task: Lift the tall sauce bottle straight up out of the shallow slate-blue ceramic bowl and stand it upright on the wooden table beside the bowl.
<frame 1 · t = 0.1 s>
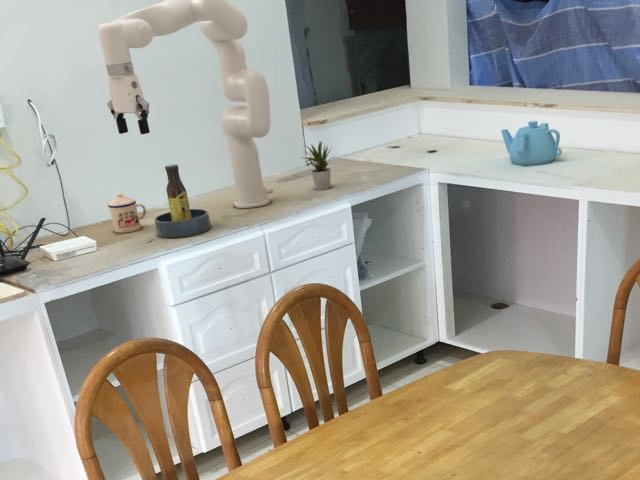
hand: (134, 133, 282), 31 cm above the table, tool pointing down, fingers open, 9 cm apart
sauce bottle: (184, 230, 303), resting on bowl
teapot: (531, 161, 351), on the table
bowl: (184, 231, 303), on the table
teacup with lid: (132, 229, 312), on the table
house plant: (321, 188, 343), on the table
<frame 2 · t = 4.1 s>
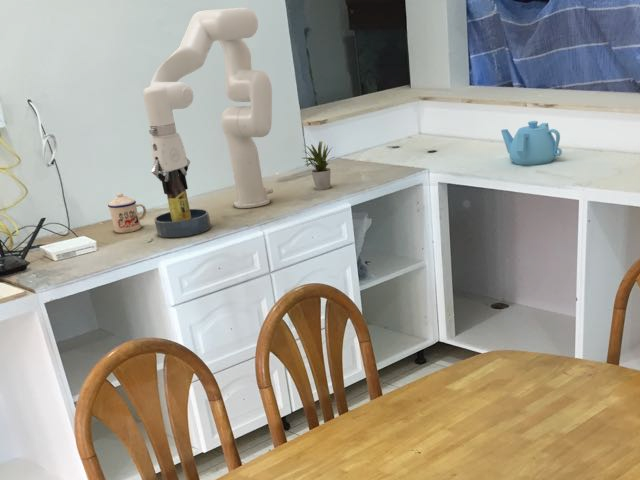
hand: (176, 191, 296), 13 cm above the table, tool pointing down, fingers closed on sauce bottle, 6 cm apart
sauce bottle: (184, 230, 303), resting on bowl, touching gripper
everything else where it was.
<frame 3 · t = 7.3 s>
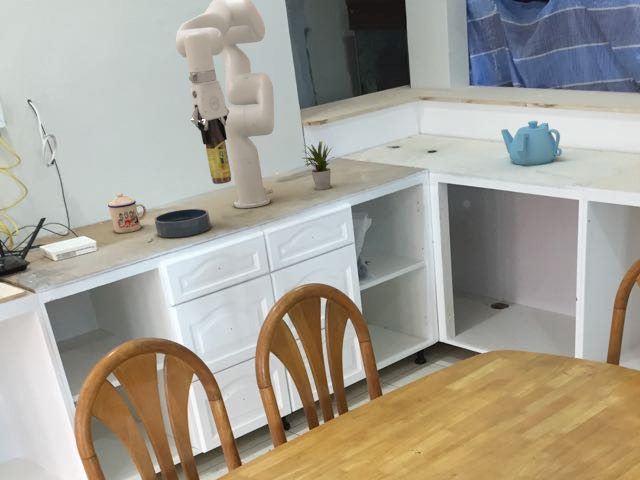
hand: (215, 141, 288), 26 cm above the table, tool pointing down, fingers closed on sauce bottle, 6 cm apart
sauce bottle: (222, 182, 295), point 14 cm above the table, touching gripper
everything else where it was.
when the fingers open (12 cm above the table, at t = 10.9 s): sauce bottle stays where it is, on the table.
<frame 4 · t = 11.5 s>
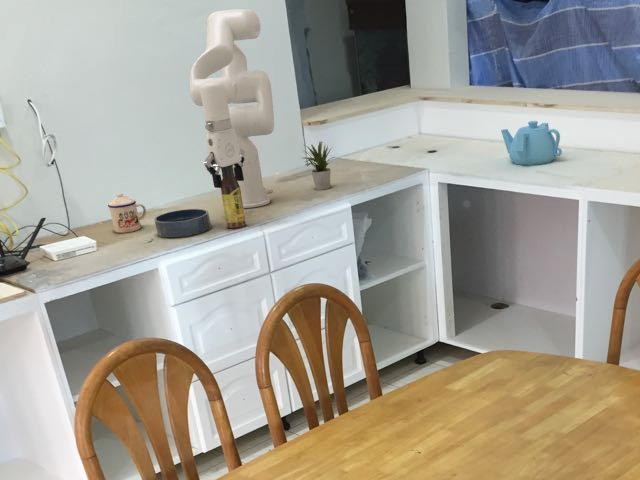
hand: (229, 184, 295), 13 cm above the table, tool pointing down, fingers open, 9 cm apart
sauce bottle: (237, 227, 302), on the table
everything else where it was.
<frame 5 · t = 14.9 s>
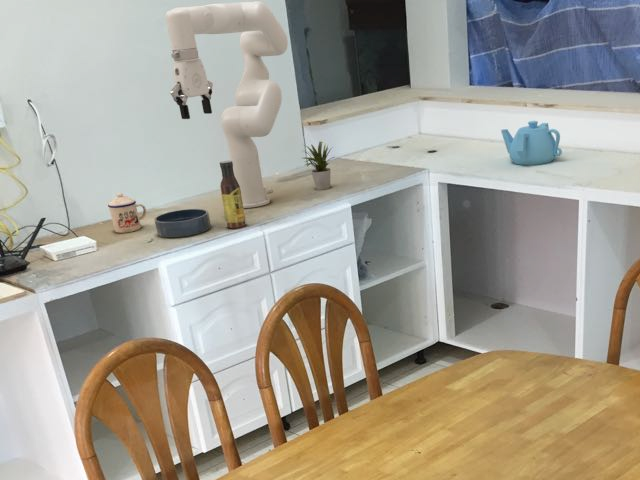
hand: (197, 116, 294), 32 cm above the table, tool pointing down, fingers open, 9 cm apart
nothing on the table moved.
at the end: sauce bottle inside the target area (0.1 cm from its centre), on the table; sauce bottle tilted 0°; sauce bottle touching table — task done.
